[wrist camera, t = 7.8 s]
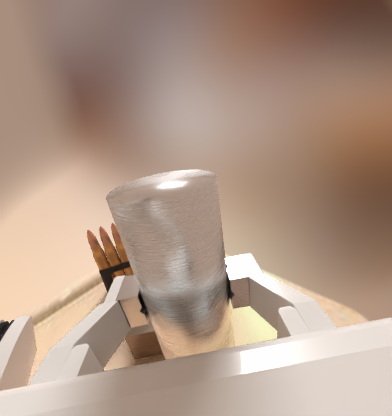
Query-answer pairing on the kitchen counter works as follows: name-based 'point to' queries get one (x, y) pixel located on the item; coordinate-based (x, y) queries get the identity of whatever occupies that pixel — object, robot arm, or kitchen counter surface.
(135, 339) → the square nut block
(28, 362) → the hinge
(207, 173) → the pin
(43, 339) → the kitchen counter surface
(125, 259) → the ammunition clip
